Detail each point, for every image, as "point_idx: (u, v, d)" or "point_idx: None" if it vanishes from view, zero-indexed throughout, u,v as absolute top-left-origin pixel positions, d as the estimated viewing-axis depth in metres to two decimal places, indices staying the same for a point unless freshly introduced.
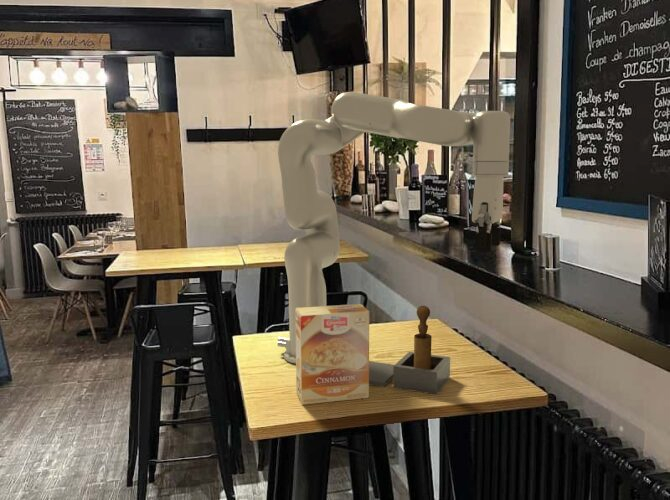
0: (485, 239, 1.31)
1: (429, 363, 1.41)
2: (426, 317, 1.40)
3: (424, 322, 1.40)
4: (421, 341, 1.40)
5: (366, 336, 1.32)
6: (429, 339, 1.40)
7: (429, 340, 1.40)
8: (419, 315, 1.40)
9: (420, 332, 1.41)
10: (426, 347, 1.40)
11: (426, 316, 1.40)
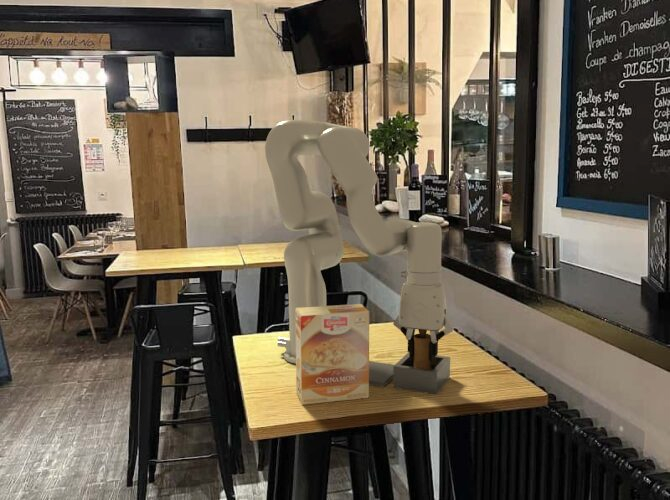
0: (437, 346, 1.41)
1: (429, 363, 1.41)
2: None
3: None
4: (420, 341, 1.40)
5: (366, 336, 1.32)
6: (429, 339, 1.40)
7: (429, 340, 1.40)
8: None
9: (420, 332, 1.41)
10: (425, 347, 1.40)
11: None
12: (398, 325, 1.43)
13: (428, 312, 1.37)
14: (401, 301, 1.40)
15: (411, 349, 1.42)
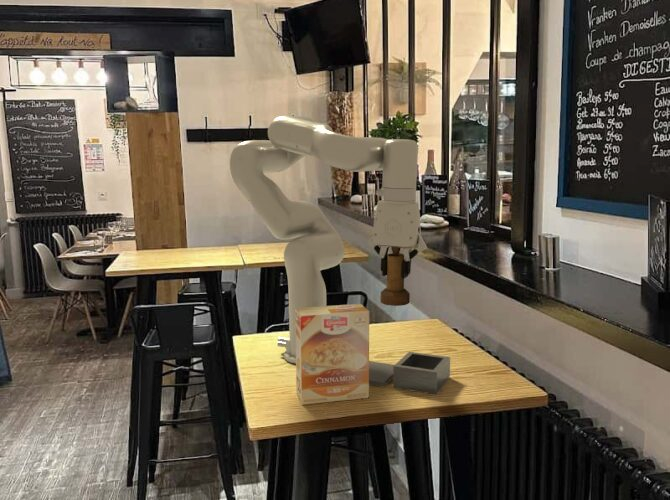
0: (410, 265, 1.41)
1: (402, 282, 1.41)
2: None
3: None
4: (393, 259, 1.40)
5: (366, 336, 1.32)
6: (402, 257, 1.40)
7: (402, 258, 1.40)
8: None
9: (393, 250, 1.41)
10: (398, 265, 1.40)
11: None
12: (372, 244, 1.43)
13: (402, 229, 1.37)
14: (375, 218, 1.40)
15: (384, 267, 1.42)
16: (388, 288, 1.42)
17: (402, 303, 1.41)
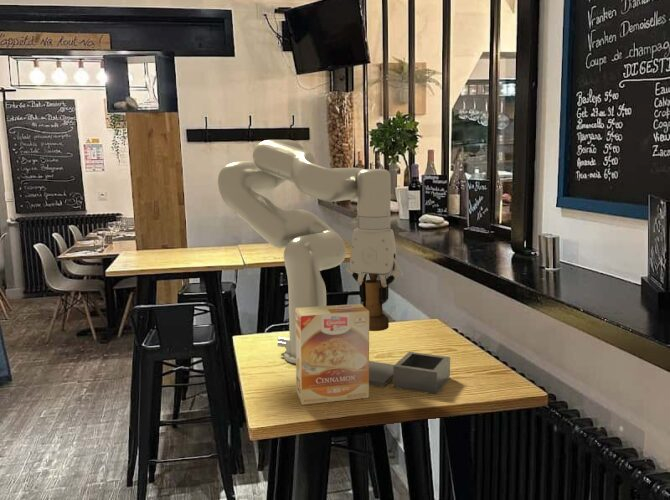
0: (388, 290, 1.44)
1: (380, 307, 1.44)
2: None
3: None
4: (371, 285, 1.43)
5: (366, 336, 1.32)
6: (379, 283, 1.43)
7: (379, 284, 1.43)
8: None
9: (370, 277, 1.44)
10: (376, 291, 1.43)
11: None
12: (350, 271, 1.46)
13: (377, 256, 1.40)
14: (352, 246, 1.43)
15: (362, 294, 1.45)
16: None
17: (381, 328, 1.43)
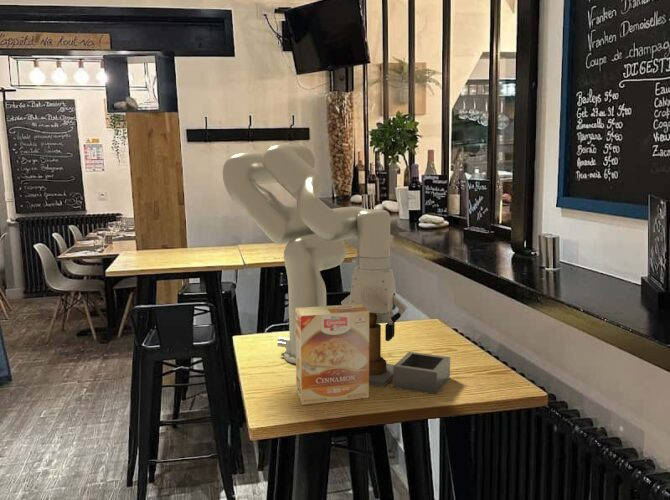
0: (394, 327, 1.45)
1: (378, 352, 1.46)
2: None
3: None
4: (370, 330, 1.45)
5: (366, 336, 1.32)
6: (378, 328, 1.45)
7: (378, 329, 1.45)
8: None
9: (369, 322, 1.46)
10: (375, 336, 1.45)
11: None
12: None
13: (377, 296, 1.42)
14: (352, 285, 1.45)
15: None
16: None
17: (379, 372, 1.45)
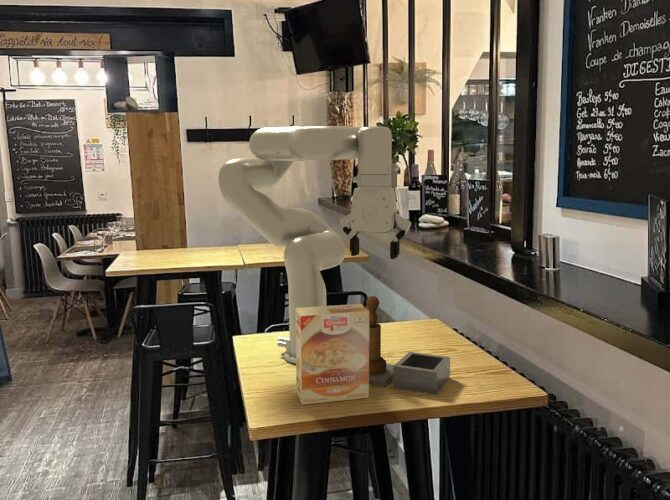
0: (399, 246, 1.42)
1: (378, 351, 1.46)
2: (375, 307, 1.45)
3: (373, 312, 1.45)
4: (370, 330, 1.45)
5: (366, 336, 1.32)
6: (378, 328, 1.45)
7: (378, 329, 1.45)
8: (368, 305, 1.45)
9: (370, 322, 1.46)
10: (375, 336, 1.45)
11: (375, 306, 1.45)
12: (343, 223, 1.46)
13: (378, 214, 1.39)
14: (352, 205, 1.42)
15: (353, 248, 1.45)
16: None
17: (379, 372, 1.45)
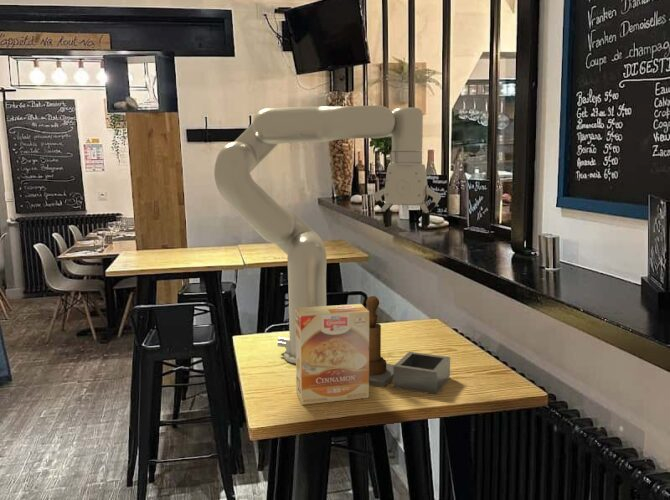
0: (429, 217, 1.55)
1: (378, 352, 1.46)
2: (375, 307, 1.45)
3: (373, 312, 1.45)
4: (370, 330, 1.45)
5: (366, 336, 1.32)
6: (378, 328, 1.45)
7: (378, 329, 1.45)
8: (368, 305, 1.45)
9: (370, 322, 1.46)
10: (375, 336, 1.45)
11: (375, 306, 1.45)
12: (377, 197, 1.59)
13: (410, 188, 1.52)
14: (386, 180, 1.55)
15: (386, 219, 1.58)
16: None
17: (379, 372, 1.45)
